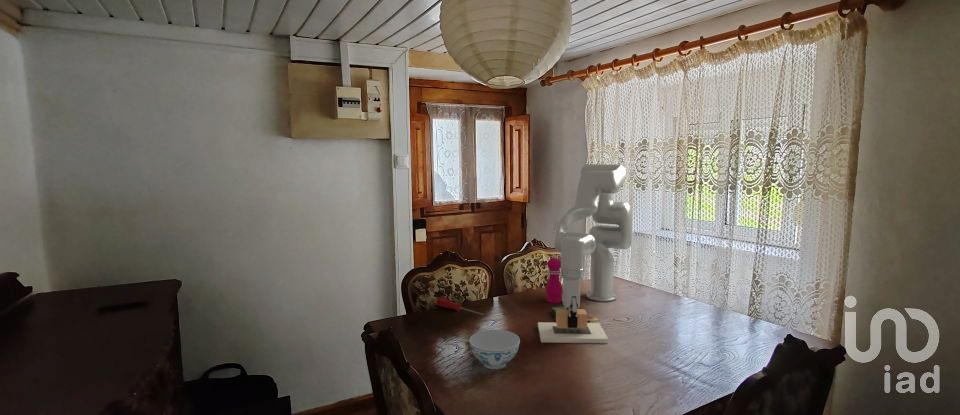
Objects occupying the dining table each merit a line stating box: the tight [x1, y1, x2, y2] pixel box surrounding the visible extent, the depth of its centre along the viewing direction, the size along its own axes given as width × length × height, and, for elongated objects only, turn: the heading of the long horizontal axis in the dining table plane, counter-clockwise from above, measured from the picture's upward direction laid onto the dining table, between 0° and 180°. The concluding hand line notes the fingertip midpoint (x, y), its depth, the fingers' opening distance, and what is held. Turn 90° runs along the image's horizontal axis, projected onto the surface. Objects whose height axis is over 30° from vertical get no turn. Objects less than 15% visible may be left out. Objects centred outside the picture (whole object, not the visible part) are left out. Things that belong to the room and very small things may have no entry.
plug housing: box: [555, 308, 600, 329], centre depth 154 cm, size 5×14×5 cm, turn 87°
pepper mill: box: [545, 254, 563, 304], centre depth 189 cm, size 7×7×20 cm
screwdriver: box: [435, 297, 485, 316], centre depth 178 cm, size 4×25×4 cm, turn 49°
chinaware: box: [468, 329, 521, 370], centre depth 133 cm, size 15×15×8 cm
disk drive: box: [550, 305, 591, 323], centre depth 170 cm, size 10×3×15 cm
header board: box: [537, 321, 609, 344], centre depth 155 cm, size 14×22×4 cm, turn 87°
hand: (571, 323), depth 154 cm, fingers closed on plug housing, 5 cm apart
